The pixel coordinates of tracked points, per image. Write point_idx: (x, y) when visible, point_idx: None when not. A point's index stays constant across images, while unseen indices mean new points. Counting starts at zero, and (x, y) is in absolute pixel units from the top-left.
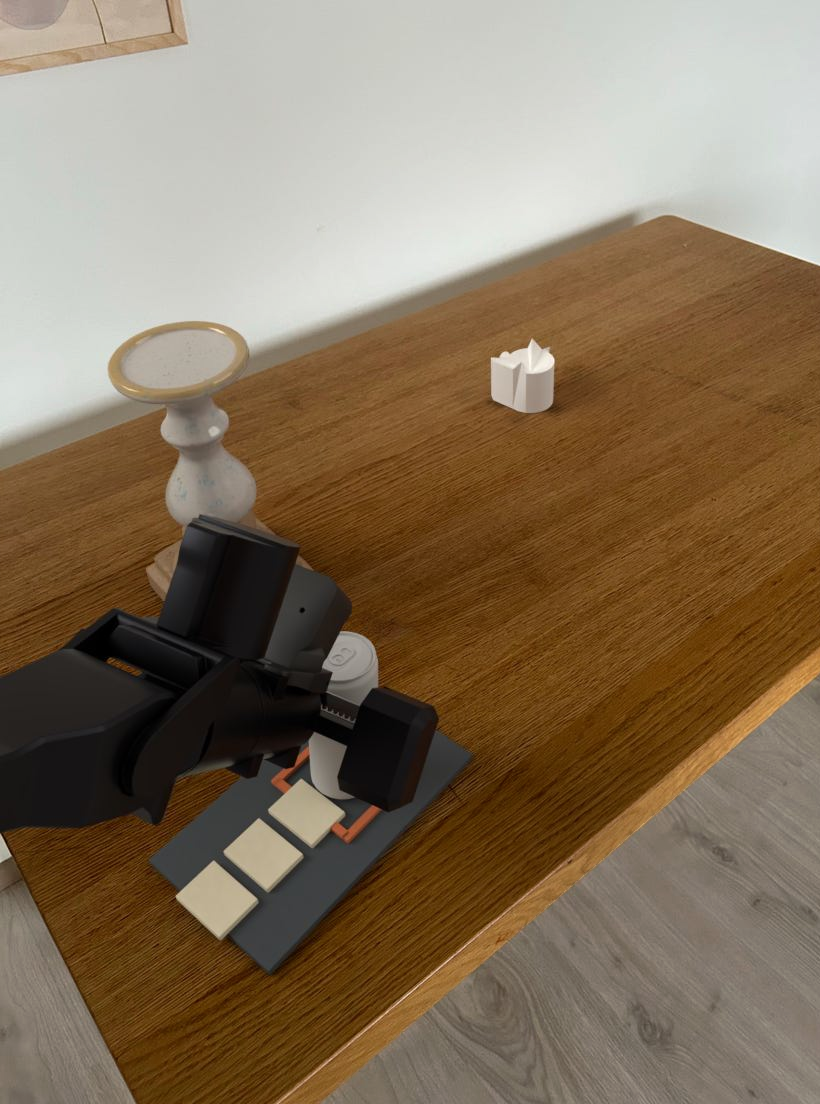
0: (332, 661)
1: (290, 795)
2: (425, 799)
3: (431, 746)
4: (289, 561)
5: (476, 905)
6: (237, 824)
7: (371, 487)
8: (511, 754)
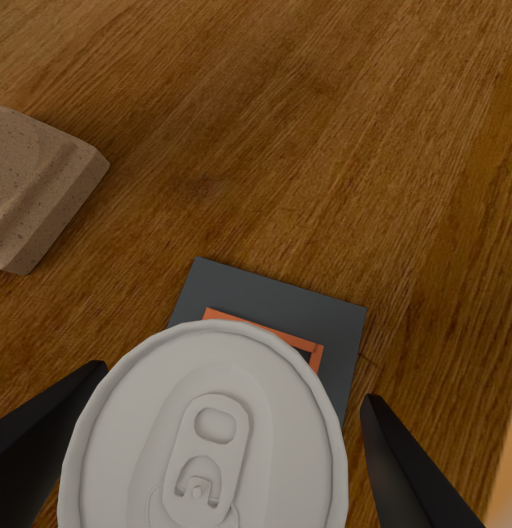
0: (183, 516)
1: None
2: (346, 387)
3: (318, 314)
4: None
5: (464, 500)
6: None
7: (120, 44)
8: (399, 288)
